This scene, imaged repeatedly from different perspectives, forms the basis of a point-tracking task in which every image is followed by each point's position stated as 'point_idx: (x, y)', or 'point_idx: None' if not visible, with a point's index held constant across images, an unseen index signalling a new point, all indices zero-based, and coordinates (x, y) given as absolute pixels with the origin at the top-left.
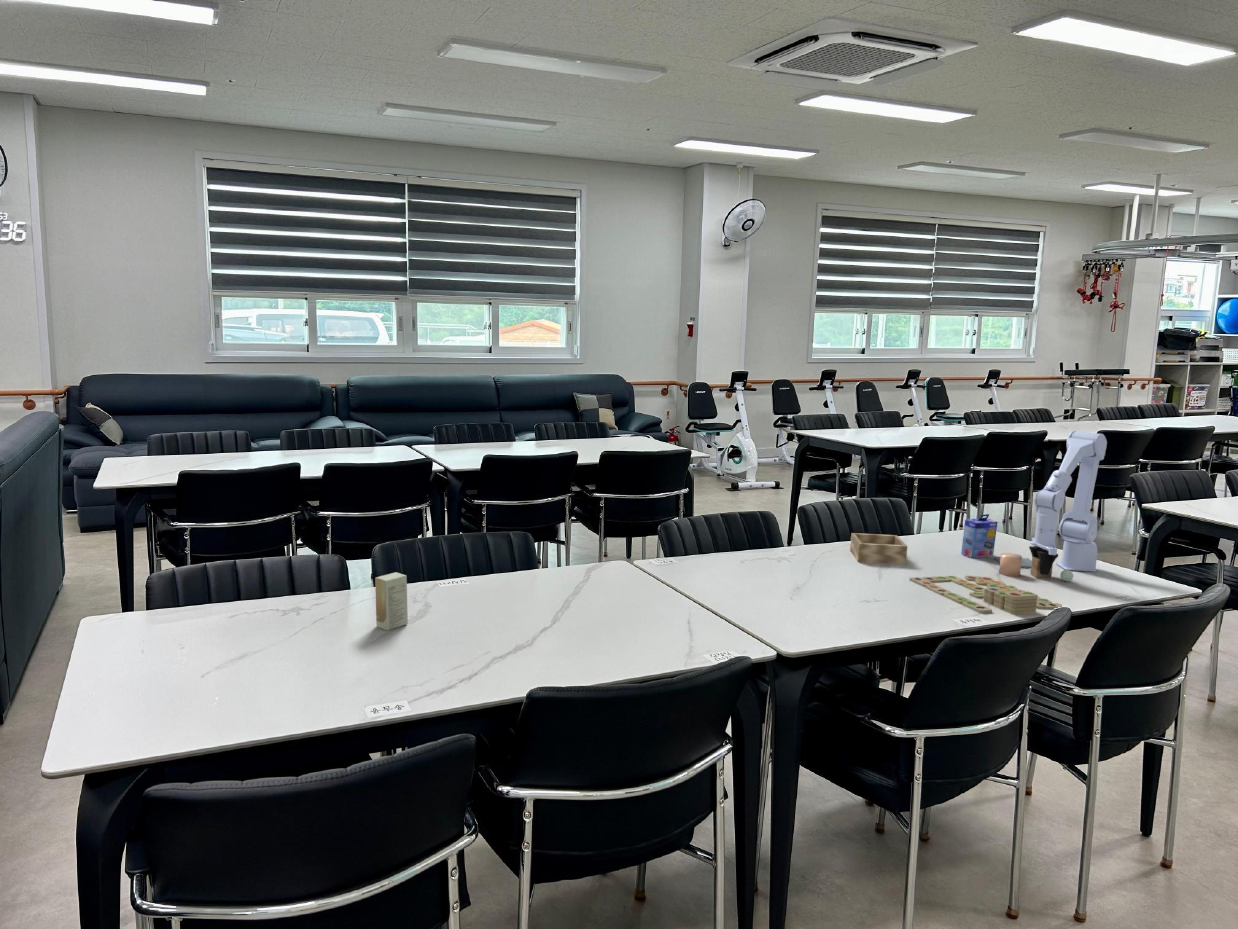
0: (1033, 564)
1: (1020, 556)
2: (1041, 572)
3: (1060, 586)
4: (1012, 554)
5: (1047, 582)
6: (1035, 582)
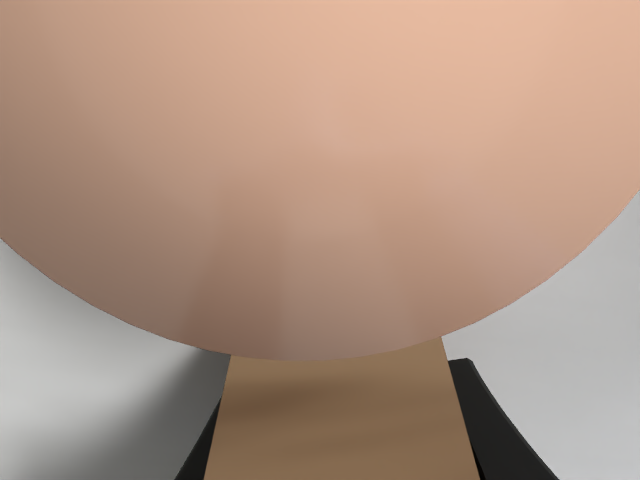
0: (370, 409)
1: (269, 328)
2: (212, 413)
3: (34, 451)
4: (479, 120)
5: (115, 383)
6: (19, 279)
